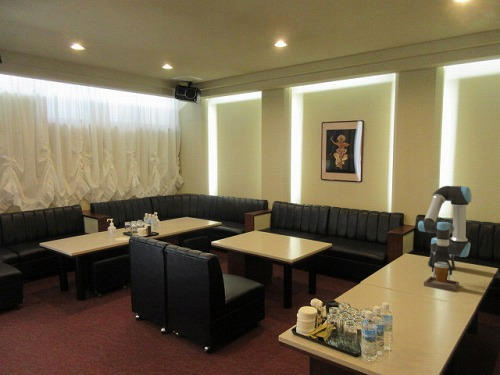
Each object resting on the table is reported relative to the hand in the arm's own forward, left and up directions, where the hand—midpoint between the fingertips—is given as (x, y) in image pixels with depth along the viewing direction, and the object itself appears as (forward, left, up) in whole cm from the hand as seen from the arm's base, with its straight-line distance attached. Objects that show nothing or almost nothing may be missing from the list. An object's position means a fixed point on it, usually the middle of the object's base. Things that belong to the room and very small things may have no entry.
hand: (441, 278), depth 240 cm
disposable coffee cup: (0, 0, -2) cm, 2 cm away
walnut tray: (0, 0, -5) cm, 5 cm away
